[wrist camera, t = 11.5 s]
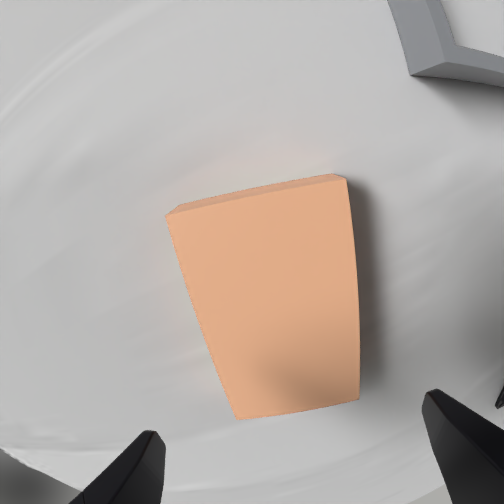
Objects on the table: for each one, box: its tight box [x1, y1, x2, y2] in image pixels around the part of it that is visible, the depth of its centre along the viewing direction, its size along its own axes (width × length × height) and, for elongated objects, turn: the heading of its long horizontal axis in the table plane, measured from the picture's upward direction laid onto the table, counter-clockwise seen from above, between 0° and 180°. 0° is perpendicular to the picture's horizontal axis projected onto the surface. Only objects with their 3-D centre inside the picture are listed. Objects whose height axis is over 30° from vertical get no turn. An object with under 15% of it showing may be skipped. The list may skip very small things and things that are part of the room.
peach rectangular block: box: [165, 174, 360, 420], centre depth 13 cm, size 6×2×11 cm
